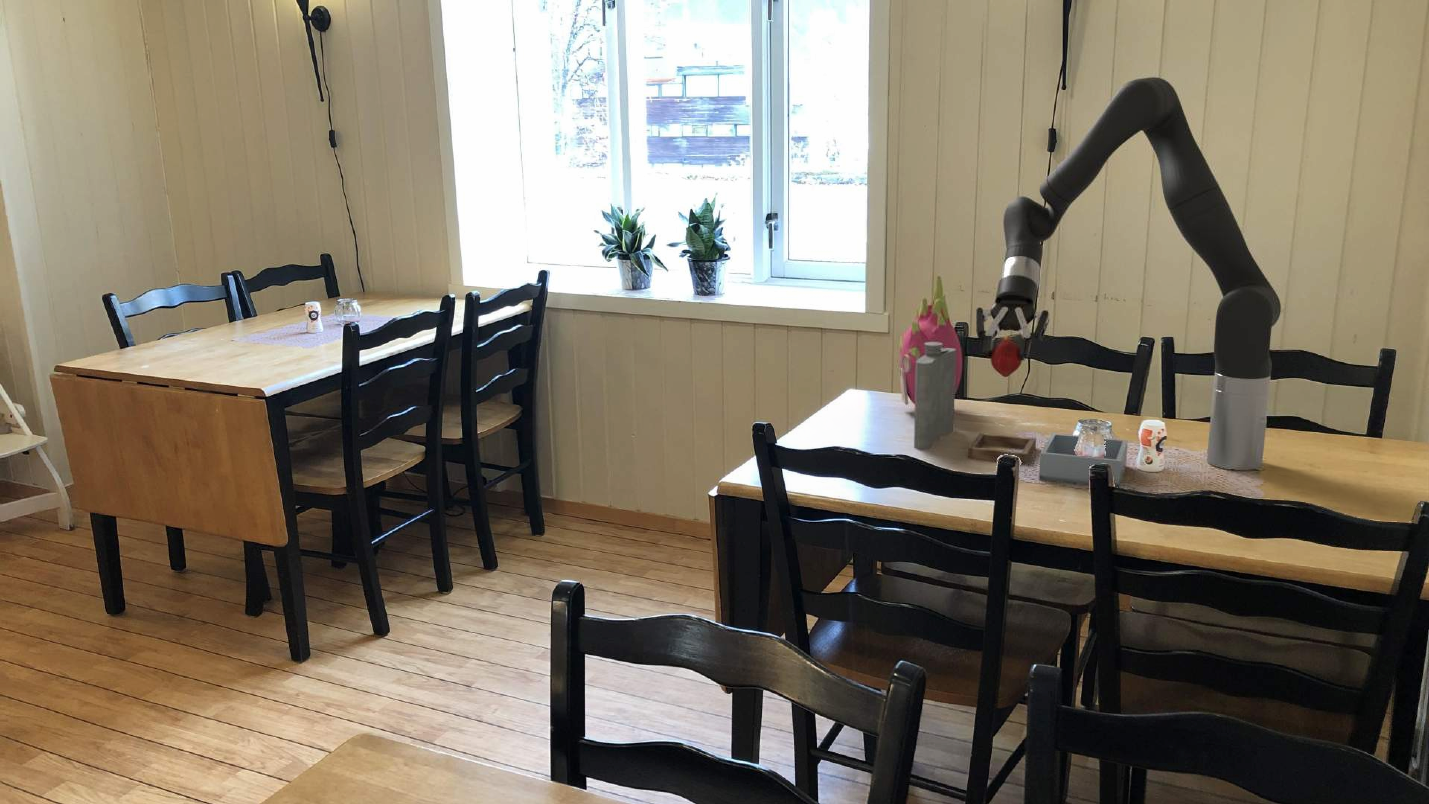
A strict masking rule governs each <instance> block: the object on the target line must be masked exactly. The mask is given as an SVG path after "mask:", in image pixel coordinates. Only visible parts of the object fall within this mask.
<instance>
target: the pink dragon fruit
mask: <svg viewBox="0 0 1429 804" xmlns="http://www.w3.org/2000/svg"><path fill="white" fill-rule="evenodd" d="M942 281H943V280H942V277H941V276H940V275H938V276H937V277H936V283H935V288H934V292H933V296H932V301H931V302H930V303H931V304H929V305H928V299H927V298H926V297H924V298H923V299H922V300H921V302H920V306H919V307H920V308H918V307H917V308H916V313H917V314H916V317H915V320H914V321H913V322H912V324H911V325H910V326H909V328H908V329H907V330H906V332H905V333H904V334H903V335H900V339H899V354H900V356H899V357H900V358H899V369H898V370H899V371H898V372H899V373H898V374H899V381H900V383H899V384H900V393H901V401H902V402H903V403H904V404H905V405H906V406H907V405H909V400H910V401H911V403H913V405H915V378H916V361H917V360H918V359H919V358H921V357H922V356H924V355H926V353H925V349H926V348H924V343H927V342H939V343H942V344H943V348H953V349H956V365H955V394H956V393H957V390H958V388H959V386H960V382H961V378H962V372H963V354H962V347H961V344H960V339H959V337H958V335H957V333H956V330H955V327H954V326H953V325H952V323H951V318H950V315H949V311H948V310H949V309H948V305H947V301H946V294H944V291H943V290H944V289H943V283H942ZM941 349H942V348H941Z"/></svg>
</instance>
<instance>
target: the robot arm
mask: <svg viewBox="0 0 1429 804" xmlns="http://www.w3.org/2000/svg"><path fill="white" fill-rule="evenodd" d="M1186 117H1187V116H1186V115H1185V112H1184V108H1183V106H1182V104H1181V101H1180V98H1179V96H1178V93H1177V91H1176V89H1175V88H1174V87H1173V85H1172V84H1171V83H1170V82H1168V81H1167V80H1166V79H1163V78H1161V77H1156V76H1153V77H1152V76H1151V77H1145V78H1144V77H1143V78H1136V79H1134V80H1133V79H1132V80H1131V81H1128V82H1126V83H1125V84H1124V85H1122V86H1121V87H1120V88H1119V89H1118V91H1117V92H1116V93H1115V95H1114V96H1113V97H1112V99H1111V100H1110V101H1109V103H1108V105H1107V106H1106V108H1105V109H1104V110H1103V111H1102V113H1101V115H1100V116H1099V118H1097V120H1096V122H1095V123H1094V125H1093V126H1092V127H1091V128H1090V130H1089V131H1088V132H1087V133H1086V135H1085V136H1084V137H1083V139H1082V140H1081V141H1080V142H1079V143H1078V144H1077V145H1076V146H1075V148H1074V149H1073V150H1072V151H1071V152H1070V153H1069V154H1068V155H1067V156H1066V157H1065V158H1064V160H1062V162H1061V163H1059V164H1058V165H1057V166H1056V167H1055V168H1054V170H1053V171H1052V172H1051V173H1050V174H1049V175H1048V176H1047V177H1046V178H1045V179H1044V180H1043V181H1042V183H1041V184H1040V185H1039V194H1040V196H1041V198H1042V199H1043V200H1044V201H1045V202H1046V204H1048V206H1047V207H1045V206H1044V205H1042V204H1040V203H1038V202H1036V201H1035V200H1033V199H1032V198H1030V197H1026V196H1023V195H1022V196H1017V197H1015V198H1014V199H1012V200H1011V201H1010V202H1009V203H1008V205H1007V206H1006V208H1005V211H1004V213H1003V232H1004V239H1005V245H1006V246H1005V247H1006V249H1005V250H1006V251H1005V256H1004V261H1003V266H1002V269H1001V271H1000V275H999V279H998V285H997V291H996V295H995V299H994V304H993V306H992V307H991V308H990V309H983V307H977V308H976V311H975V313H976V316H975V317H976V335H977V339H978V340H980V341H981V340H983V346H982V351H983V352H982V353H983V355H984V356H985V358H986V359H991V353H992V350H993V349H994V348H993V347H994V341H995V339H996V338H997V336H999V335H1001V333H1002V332H1003V331H1014V332H1020V333H1021V337H1022V340H1021V343H1020V344H1021V345H1020V347H1019V349H1020V360H1022V361H1025V359H1027V358H1028V357H1029V356H1030V350H1031V345H1032V344H1034V343H1038V344H1039V343H1042V341H1043V339H1044V336H1045V333H1046V331H1047V328H1048V326H1049V322H1050V314H1049V311H1048V310H1046V309H1045V310H1042V311H1037V310H1036V309H1035V306H1036V300H1037V295H1038V294H1037V293H1038V290H1039V286H1040V272H1041V265H1042V264H1041V263H1042V259H1043V253H1044V249H1043V246H1042V243H1043V242H1045V241H1047V240H1049V239H1050V238H1051V237H1052V236H1053V234H1054V233H1055V232H1056V230H1057V227H1058V226H1059V224H1060V222H1061V220H1062V218H1063V216H1064V215H1065V214H1066V212H1067V210H1068V209H1069V207H1070V206H1071V205H1072V204H1073V203H1074V201H1075V200H1077V198H1079V196H1080V195H1082V194H1083V192H1085V190H1086V189H1088V187H1089V186H1090V185H1091V184H1092V183H1093V182H1094V180H1095V179H1096V178H1097V177H1098V175H1099V174H1100V173H1101V171H1102V169H1103V168H1104V165H1105V164H1106V163H1107V161H1108V160H1109V158H1110V157H1111V156H1112V155H1113V154H1114V153H1115V152H1116V151H1117V150H1118V149H1119V148H1120V147H1121V146H1122V145H1123V144H1124V143H1126V142H1127V141H1128V140H1130V139H1131V138H1132V137H1134V136H1135V135H1136V134H1138V133H1140V132H1143V133H1144V135H1145V136H1146V138H1147V140H1148V142H1149V143H1150V145H1151V147H1152V148H1153V151H1154V153H1155V155H1156V158H1157V161H1158V164H1159V170H1160V178H1161V179H1160V180H1161V187H1162V193H1163V194H1162V195H1163V198H1164V201H1165V204H1166V207H1167V209H1168V211H1169V213H1170V216H1171V217H1172V219H1173V222H1174V223H1175V225H1176V227H1177V229H1178V230H1179V232H1180V234H1181V235H1182V237H1183V238H1184V240H1185V241H1186V242H1187V243H1188V244H1189V246H1190V247H1191V248H1192V250H1194V252H1195V253H1196V254H1197V255H1198V256H1199V257H1200V258H1201V259H1202V261H1203V262H1204V263H1205V264H1206V265H1207V267H1208V268H1209V269H1210V272H1212V275H1213V276H1214V278H1215V281H1216V284H1217V285H1218V287H1219V290H1220V292H1221V295H1222V298H1221V300H1220V302H1219V303H1218V306H1217V308H1216V309H1217V310H1216V315H1215V322H1214V323H1215V325H1214V327H1215V328H1214V340H1213V341H1214V342H1213V357H1214V362H1215V364H1214V365H1215V366H1214V367H1215V368H1214V377H1213V378H1214V380H1213V389H1212V390H1213V391H1212V400H1211V412H1210V419H1209V421H1210V422H1209V432H1208V441H1207V442H1208V443H1207V452H1206V453H1207V455H1206V462H1207V463H1208V464H1210V465H1212V466H1214V467H1217V468H1221V469H1225V470H1231V469H1235V470H1234V471H1248V470H1247V469H1262V468H1263V460H1264V449H1265V439H1266V432H1267V422H1268V421H1267V418H1268V417H1267V414H1268V406H1269V405H1268V404H1269V395H1270V394H1269V393H1270V386H1271V385H1270V384H1271V375H1272V367H1273V361H1272V359H1271V355H1270V349H1271V338H1272V337H1271V336H1272V330H1273V329H1272V327H1274V326H1275V325H1276V324H1277V322H1278V320H1279V318H1280V316H1281V312H1282V309H1281V301H1280V300H1281V299H1280V298H1279V296H1278V294H1277V292H1276V290H1275V289H1274V287H1272V285H1271V283H1270V282H1269V280H1268V278H1267V277H1266V276H1265V274H1264V273H1263V271H1262V270H1261V268H1260V266H1259V265H1258V263H1257V262H1256V260H1255V258H1254V257H1253V255H1252V253H1251V251H1250V249H1249V247H1248V245H1247V243H1246V240H1245V238H1244V235H1243V232H1242V231H1241V227H1240V226H1239V224H1238V222H1237V220H1236V217H1235V215H1234V214H1233V211H1232V209H1231V206H1230V204H1229V202H1228V201H1227V198H1226V195H1225V194H1224V192H1223V190H1222V188H1221V186H1220V184H1219V183H1218V180H1217V179H1216V177H1215V176H1214V174H1213V172H1212V170H1211V168H1210V166H1209V164H1208V162H1207V160H1206V159H1205V156H1204V153H1202V150H1201V148H1200V147H1199V145H1198V143H1197V142H1196V140H1195V137H1194V136H1193V133H1192V130H1191V128H1190V125H1189V123H1188V120H1187V118H1186ZM990 317H992V319H993V320H992V322H991V323H990V326H989V327H988V329H987V330H986V329H985V323H986V322H987V321H988V320H989V318H990ZM1034 319H1036V323H1037V324H1036V327H1035V329H1034V332H1030V330H1029V326H1028V325H1029V324H1030V323H1031V322H1032V321H1033V320H1034Z"/></svg>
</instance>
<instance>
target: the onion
mask: <svg viewBox="0 0 1429 804" xmlns="http://www.w3.org/2000/svg"><path fill="white" fill-rule="evenodd" d="M993 347H994V348H992V353H991V358H990V363H991V366H992V368H993V369H994V370H995V371H996V372H997V373H999V374H1000V375H1001V376H1002V377H1003V378H1007V377H1010V375H1012V374H1013V373H1015V372H1016V370H1018V369H1019V368H1020V366H1021V365H1022V361H1023V360H1020V347H1019V346H1018V345H1017V344H1016V343H1015V342H1014V341H1012V340H1011V336H1009V335H1005V336H1004V337H1003V339H1002V340H1001V341H1000V342H998V343H997V344H996V345H995V346H993Z"/></svg>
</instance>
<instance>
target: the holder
mask: <svg viewBox="0 0 1429 804" xmlns="http://www.w3.org/2000/svg"><path fill="white" fill-rule="evenodd" d="M1036 441H1037V438H1036V437H1035V438H1034V437H1025V436H1016V435H1014V436H1013V435H1006V434H1005V435H1003V434H993V433H983V432H982V433H981V432H979V433H978V435H977V436H976V437H975V438H974V440H973V441H972V442H971V444H970V445H969V446H967V459H972V460H973V459H975V460H980V461H981V460H984V461H991V462H992V461H993V462H997V461H996V460H997V458H998V457H999V456H1000V455H1004V454H1008V455H1015V456H1017V457H1019V458H1020V460H1021V462H1022V464H1021V465H1027V463H1028V461H1029V460H1030V458H1031V456H1032V455H1033V453H1034V451H1035V450H1036V446H1037V445H1036V443H1037V442H1036ZM984 445H985V446H987V445H988V446H994V447H995V446H996V447H1005V448H1014V449H1015V448H1017V449H1022V451H1015V450H1014V451H1013V450H1005V449H996V448H995V449H994V448H985V447H983V446H984Z"/></svg>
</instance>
